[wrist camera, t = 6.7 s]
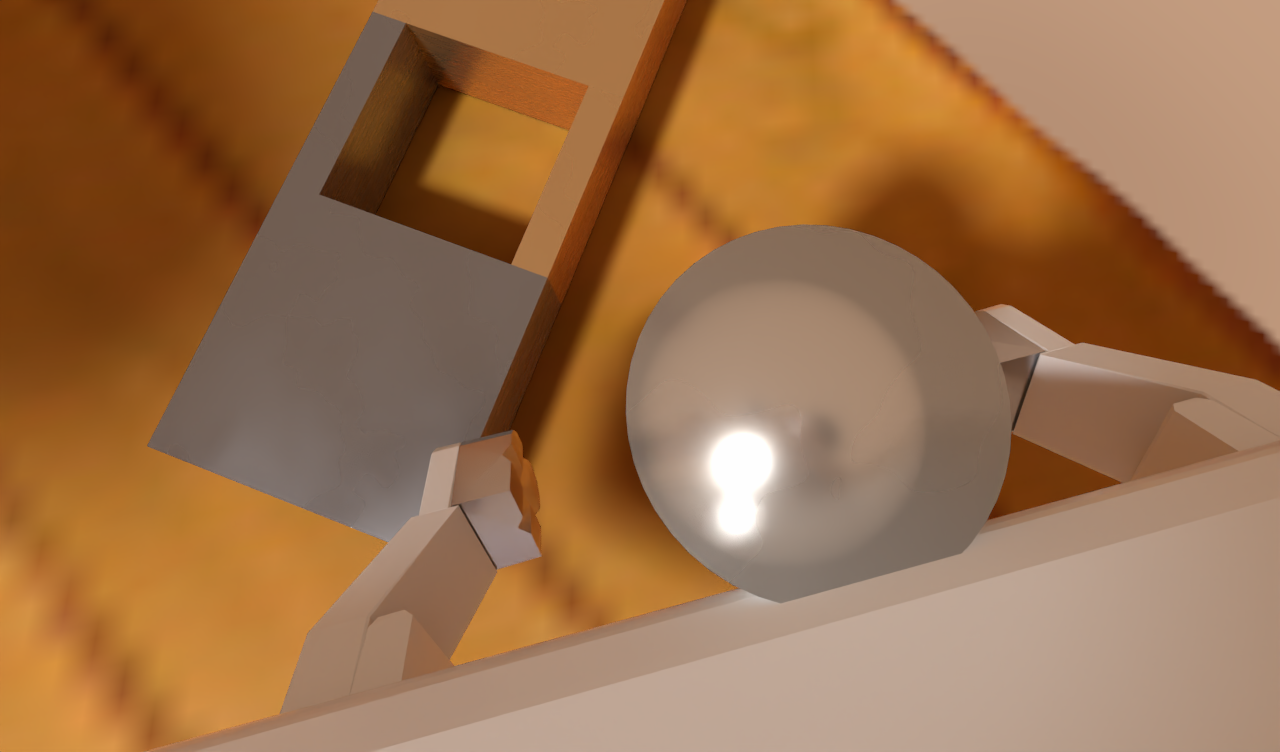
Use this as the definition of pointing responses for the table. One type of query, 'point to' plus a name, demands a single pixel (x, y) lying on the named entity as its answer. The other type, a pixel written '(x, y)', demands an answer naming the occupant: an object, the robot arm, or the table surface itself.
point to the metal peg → (817, 412)
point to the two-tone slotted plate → (409, 261)
